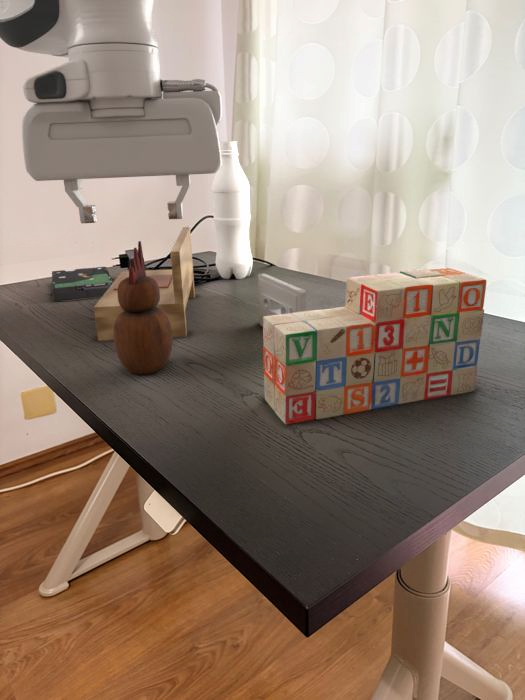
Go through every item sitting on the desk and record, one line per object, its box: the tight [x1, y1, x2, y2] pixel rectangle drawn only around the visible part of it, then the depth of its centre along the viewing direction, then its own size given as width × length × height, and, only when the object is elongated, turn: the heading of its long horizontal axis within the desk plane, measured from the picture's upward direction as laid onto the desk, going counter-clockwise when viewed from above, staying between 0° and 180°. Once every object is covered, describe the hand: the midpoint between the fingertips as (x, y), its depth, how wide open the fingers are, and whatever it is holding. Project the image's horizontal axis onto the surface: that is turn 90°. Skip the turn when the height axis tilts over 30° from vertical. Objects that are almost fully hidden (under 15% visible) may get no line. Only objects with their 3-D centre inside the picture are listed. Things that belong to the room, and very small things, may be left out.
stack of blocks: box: [262, 267, 487, 425], centre depth 59 cm, size 21×6×12 cm, turn 109°
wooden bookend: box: [93, 226, 196, 342], centre depth 88 cm, size 12×22×12 cm, turn 3°
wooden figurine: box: [113, 240, 174, 376], centre depth 67 cm, size 7×6×15 cm
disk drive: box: [51, 266, 114, 302], centre depth 107 cm, size 10×3×15 cm
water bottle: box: [211, 140, 253, 280], centre depth 110 cm, size 7×7×25 cm
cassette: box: [257, 272, 307, 327], centre depth 79 cm, size 12×2×8 cm, turn 26°
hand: (132, 220), depth 64 cm, fingers open, 8 cm apart
